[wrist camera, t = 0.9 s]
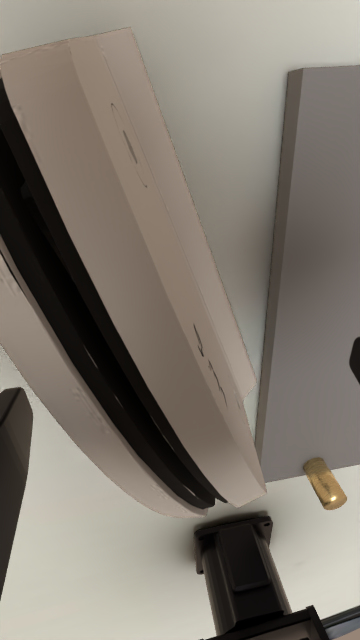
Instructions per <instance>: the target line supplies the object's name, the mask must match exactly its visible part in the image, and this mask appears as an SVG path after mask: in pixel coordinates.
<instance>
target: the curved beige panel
mask: <svg viewBox="0 0 360 640" xmlns="http://www.w3.org/2000/svg"><path fill="white" fill-rule="evenodd" d="M0 344H1V345H2V347H3V348H4V350H5V351H6V353H7V354H8V355H9V357H10V358H11V360H12V361H13V363H14V364H15V366H16V367H17V369H18V370H19V372H20V373H21V375H22V376H23V378H24V379H25V380H26V382H27V383H28V385H29V386H30V388H31V389H32V390H33V392H34V393H35V394H36V395H37V397H38V398H39V399H40V400H41V402H42V403H43V404H44V405H45V407H46V408H47V409H48V410H49V412H50V413H51V414H52V416H53V417H54V418H55V419H56V421H57V422H58V423H59V424H60V426H61V427H62V428H63V429H64V430H65V432H66V433H67V434H68V435H69V436H70V438H71V439H72V440H73V441H74V442H75V444H76V445H77V446H78V447H79V448H80V449H81V450H82V451H83V452H84V453H85V454H86V455H87V456H88V457H89V459H90V460H91V461H92V462H93V463H94V464H95V465H96V466H97V467H98V468H99V469H100V470H101V471H102V472H103V473H104V474H105V475H106V476H107V477H108V478H110V479H111V480H112V481H113V482H114V483H115V484H116V485H118V486H119V487H120V488H121V489H122V490H124V491H125V492H126V493H127V494H129V495H130V496H131V497H132V498H134V499H135V500H136V501H138V502H140V503H141V504H143V505H144V506H146V507H148V508H149V509H151V510H153V511H156V512H158V513H160V514H163V515H166V516H171V517H176V518H183V517H205V516H206V515H207V512H208V508H209V507H212V506H214V505H215V498H217V499H219V500H220V501H222V502H224V503H227V502H229V503H231V504H232V505H234V506H236V507H237V508H239V507H241V506H243V505H245V504H247V503H249V502H251V501H253V500H255V499H257V498H259V497H261V496H263V495H265V494H266V493H267V490H266V486H265V482H264V478H263V474H262V471H261V467H260V464H259V460H258V456H257V453H256V449H255V445H254V442H253V438H252V434H251V431H250V427H249V424H248V420H247V416H246V413H245V409H244V405H243V400H244V398H245V397H246V396H247V394H248V393H249V392H250V391H251V389H252V388H253V387H254V386H255V385H256V382H257V379H256V376H255V373H254V371H253V368H252V365H251V362H250V359H249V357H248V354H247V351H246V348H245V345H244V343H243V340H242V337H241V334H240V331H239V329H238V326H237V323H236V320H235V317H234V315H233V312H232V309H231V306H230V303H229V301H228V298H227V295H226V292H225V289H224V287H223V284H222V281H221V278H220V275H219V273H218V270H217V267H216V264H215V262H214V259H213V256H212V253H211V250H210V248H209V245H208V242H207V239H206V236H205V234H204V231H203V228H202V225H201V222H200V220H199V217H198V214H197V211H196V208H195V206H194V203H193V200H192V197H191V194H190V192H189V189H188V186H187V183H186V180H185V178H184V175H183V172H182V169H181V166H180V164H179V161H178V158H177V155H176V153H175V150H174V147H173V144H172V141H171V139H170V136H169V133H168V130H167V127H166V125H165V122H164V119H163V116H162V113H161V111H160V108H159V105H158V102H157V99H156V97H155V94H154V91H153V88H152V85H151V83H150V80H149V77H148V74H147V71H146V69H145V66H144V63H143V60H142V57H141V55H140V52H139V49H138V46H137V44H136V41H135V38H134V35H133V32H132V30H131V27H127V28H123V29H119V30H115V31H110V32H106V33H102V34H97V35H93V36H87V37H80V38H73V39H67V40H62V41H58V42H54V43H50V44H45V45H41V46H37V47H32V48H28V49H24V50H20V51H15V52H11V53H7V54H2V57H1V60H0Z"/></svg>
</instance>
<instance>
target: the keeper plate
mask: <svg viewBox="0 0 360 640" xmlns="http://www.w3.org/2000/svg"><path fill="white" fill-rule="evenodd" d="M357 337H360V66H339V67H318V68H302V69H298V70H294V71H290V72H289V74H288V85H287V96H286V107H285V118H284V129H283V140H282V151H281V162H280V173H279V184H278V195H277V206H276V218H275V229H274V240H273V251H272V262H271V273H270V284H269V295H268V306H267V317H266V328H265V339H264V350H263V361H262V372H261V384H260V395H259V406H258V417H257V428H256V439H255V449H256V453H257V456H258V460H259V464H260V467H261V471H262V474H263V478H264V482H265V483H267V482H272V481H277V480H282V479H287V478H292V477H297V476H303V475H306V476H307V478H308V480H309V481H310V483H311V485H312V487H313V489H314V491H315V492H316V494H317V496H318V498H319V500H320V502H321V503H322V505H323V507H324V509H326V510H333V509H337V508H339V507H341V506H342V505H343V504H345V502H346V501H347V497H346V495H345V494H344V492H343V490H342V489H341V487H340V485H339V484H338V482H337V481H336V479H335V477H334V476H333V474H332V472H331V471H330V470H333V469H338V468H343V467H349V466H354V465H359V464H360V385H359V383H358V381H357V379H356V378H355V376H354V374H353V372H352V371H351V369H350V366H349V358H350V354H351V350H352V346H353V342H354V340H355V339H356V338H357Z"/></svg>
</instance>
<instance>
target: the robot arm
mask: <svg viewBox="0 0 360 640" xmlns="http://www.w3.org/2000/svg"><path fill="white" fill-rule="evenodd" d="M349 366H350V369H351V371H352V372H353V374H354V376H355V378H356V379H357V381H358V383H359V385H360V337H357V338H356V339H355V340H354V342H353V346H352V350H351V354H350V358H349ZM32 426H33V412H32V409H31V406H30V403H29V401H28V398H27V395H26V393H25V390H24V389H23V388H21V387H16V388H9V389H5V390H3V391H2V392H1V393H0V600H1V595H2V591H3V586H4V582H5V577H6V573H7V568H8V563H9V559H10V554H11V550H12V545H13V541H14V536H15V531H16V527H17V522H18V518H19V513H20V509H21V504H22V499H23V495H24V490H25V486H26V480H27V475H28V467H29V457H30V446H31V436H32ZM272 525H273V522H272V520H271V517H269V516H265V517H260V518H256V519H251V520H246V521H241V522H236V523H231V524H227V525H222V526H217V527H212V528H207V529H203V530H199V531H196V532H195V533H194V544H195V561H196V571H197V574H200V575H201V574H204V575H205V580H206V585H207V590H208V595H209V600H210V605H211V610H212V615H213V620H214V625H215V630H216V635H217V636H216V637H213V638H209V639H206V640H329V638H328V636H327V633H326V631H325V629H324V627H323V625H322V623H321V621H320V619H319V616H318V614H317V612H316V610H315V608H314V606H313V605H311V606H308V607H306V609H304V610H301V611H297V612H294V613H292V610H291V608H290V605H289V602H288V599H287V597H286V594H285V591H284V588H283V586H282V583H281V580H280V577H279V575H278V572H277V569H276V566H275V564H274V561H273V558H272V556H271V553H270V550H269V544H270V538H271V532H272ZM200 640H204V639H200Z"/></svg>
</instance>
